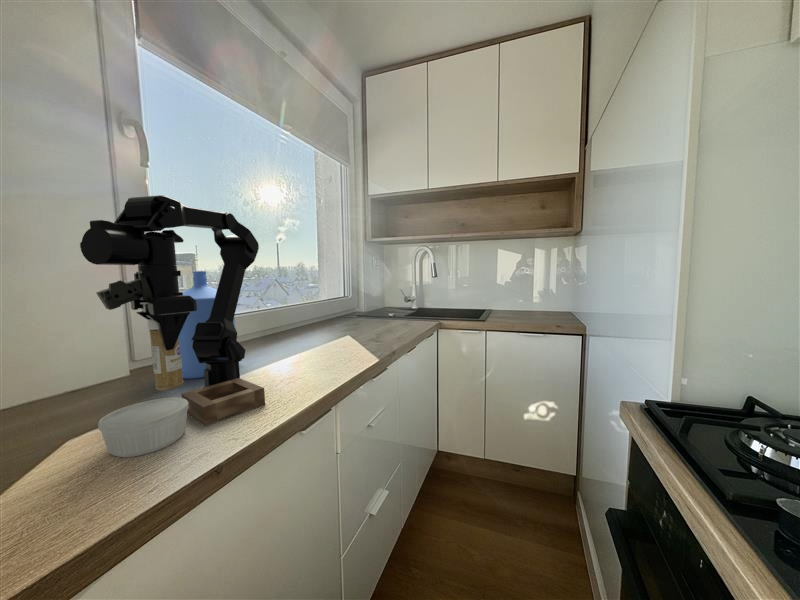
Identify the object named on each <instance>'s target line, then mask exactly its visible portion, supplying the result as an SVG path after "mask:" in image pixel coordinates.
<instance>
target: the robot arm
mask: <svg viewBox="0 0 800 600" xmlns="http://www.w3.org/2000/svg"><path fill="white" fill-rule="evenodd" d="M123 208H124V209H122V211H121V212H120V214H119V215H118V217H117V218H116V219H115V221H114V222H112V221H109V220H105V219H96V220H95V219H94V220H90V221H89V228H88V229H87V230H86V231H85V232H84V233H83V236H82V239H81V241H80V242H79V247H80V251H81V253H82V256H83V257H84V259H86V260H87V261H88V262H89V263H91V264H93V265H101V266H102V265H104V266H105V265H108V266H111V265H112V266H135V265H137V271H135V273H134V274H133V276H134V277H133V278H134V280H130V281H126V282H125V281H123V280H121V279H120V280H117V281H114V282H111V283H108V288H105V289H102V290H99V291H97V292H95V294H96V296H98V298H99V300H100V301H101V303H102V304H103V306H104V307H105V309H106V310H109V311H111V310H115V309H117V308H121V307H122V305H125V304H128V303H130V308H131V310H133V311H136V310H139V309H141V311H136V312H135V313H136V315H139V316H140V317H142V318H144V319H146V320H147V321H148V320H149V319H152V320H153V321H155V322H156V323H157V324H158V327H159V330H160V333H161V336H162V340H163V343H164V346H165V349H166V350H172V349H174V346H175V344H176V342H177V339H178V337H179V334H180V332H181V330H182V328H183V325H184V323H185V321H186V319H187V317H188V315H189V314H190V312H191V311H197V305H196V300H195V299H194V298H192V297H191V296H187V295H183V292H184V291H183V292H182V291H180V288H179V286H180V285H179V277H181V276H182V274H181V273H182V272H181V270H178V266H177V257H176V255H177V254H176V246H175V244H177V243H184V238H183V237H181V236H180V235H178V234H177V233H176V232H175V230H173V229H171V228H178V227H189V228H200V229H202V228H203V229H211V230H212V232H213V237H214V238H213V239H214V242H215V244H216V245H217V247H219V249H220V251H219V255H220V258H221V260H222V262H223V267H222V271H221V273H220V277H219V278H220V279H219V282H218V285H217V289H216V290H217V292H216V296H215V300H214V303H213V307H212V310H211V314H210V317H209V319H208V320H207V321H206V322H205V323H198V324H197V325H196V329H195V334H194V336H193V338H192V340H194V341H193V345H192V348H193V349H194V352H195V354H196V357H197V359H198V361H199V363H206V369H205V370H204V378H203V379H204V385H203V386H204V387H207V386H211V385H215V384H218V383H222V382H226V381H229V380H233V379H237V378H240V379H241V375H240V374H241V373H240V372H241V371H240V363H239V362H242V361H243V360H244V359H245V356H246V348H244V347H243V346H242V344H240V342H239V341H237V338H238V331H237V329H236V325H235V326H234V324H233V319H234V317H235V314H236V310H237V307H238V306H237V305H238V304H239V303H238V302H239V298H240V295H241V294H240V293H241V289H242V285H243V281H244V278H245V273H246V270H247V269H248V268H249V267H250V266H251V265H252V264H253V263H254V262H255V260H256V257H257V255H258V252H259V248H260V246H259V245H260V244H259V242H258V240H257V239H256V237H255V235H254V234H253V233H252V231H251V230H250V229H249V228H248V227H246V226H244V225H243V224H242V223H241V222H239V221H238V220H237V219H236V217H235V216H234V215H233V214H232V213H231V212H228V211H227V212H225V211H224V212H221V211H216V210H210V209H209V210H208V209H203V208H197V207H191V206H187V205H184V204H183V203H182V202H181V201H179V200H176V199H174V198H171V197H170V196H167V195H164V194H163V195H147V196H134V197H133V196H132V197H129V198H127V200H126V202H125V204H124V207H123ZM169 228H170V229H169ZM166 229H167V230H166ZM223 230H229V232H230V233H232V234H233V235H227V236H226V235H225V234H224V232H223Z"/></svg>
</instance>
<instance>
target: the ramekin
mask: <svg viewBox="0 0 800 600" xmlns="http://www.w3.org/2000/svg"><path fill="white" fill-rule="evenodd" d="M188 408H189V404H188V401H187V400H186V399H183V398H182V397H173V396H172V397H163V398H155V399H150V400H146V401H142V402H138V403H134V404H131V405H128V406H127V405H126V406H125V407H122V408H119V409H116V410H114V411H112V412H110V413H108V414H106V415H104V416H103V417H101V418H100V420H99V421H98V423H97V426H98V430H99V432H101V435H102V438H103V440H104V443H105V447H106V450H107V451H108V453H110V454H111V455H112V456H115V457H118V458H133V457H138V456H143V455H146V454H147V455H148V454H150V453H153V452H157V451H159V450H162V449H164V448H166V447H169V446H170V445H172V444H173V443H174V444H175V442H177V441H178V440H179V439H180V438H181V437H182V435H183V434H184V433H185V430H186V428H187V417H188V414H187V410H188Z"/></svg>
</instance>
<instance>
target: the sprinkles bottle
mask: <svg viewBox="0 0 800 600" xmlns="http://www.w3.org/2000/svg"><path fill="white" fill-rule="evenodd" d="M147 329H148V330H149V335H150V336H149V338H150V350H151V358H152V359H151V361H152V367H153V368H152V370H153V374H154V382H155V385H154V389H155V390H157V391H169V390H172V389H175V388H178V387H181V386H183V384H184V383H185V382H184V378H183V376H182V363H181V353H180V346H179V338H178V339H177V342H176V344H175V346H174V349H172V350H166V349H165V346H164V343H163V340H162V336H161V333H160V330H159V327H158V324H157V323H156V322H155V321H153V320H152V319H149V320H147Z"/></svg>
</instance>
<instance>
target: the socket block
mask: <svg viewBox="0 0 800 600" xmlns="http://www.w3.org/2000/svg"><path fill="white" fill-rule="evenodd" d="M265 394H266V393H265V387H263V386H260V385H258V384H255V383H253V382H250V381H248V380H245V379H243V378H241V377H240V378H237V379H233V380H229V381H226V382H222V383H218V384H215V385H211V386H207V387H205V386H204V387H201V388H197V389H193V390H190V391H186V392H183V393H181V398H183V399H186V400H187V401H188V404H189V408H188V410H187V415H188V414H189V415H190V416H189V415H188V416H189V417H191V416H192V417H193V419H194V420H195V419H196V420H195V421H197V422H198V421H199V422H198V423H199V424H201V425H202V424H203V426H204V427H208V426H210V425H213V424H216V423H218V422H221V421H225V420H226V419H229V418H232V417H236V416H238V415H240V414H244V413H246V412H249V411H253V410H254V409H256V408H260V407H263V406H265V405H266V396H265ZM192 417H191V418H192Z"/></svg>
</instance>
